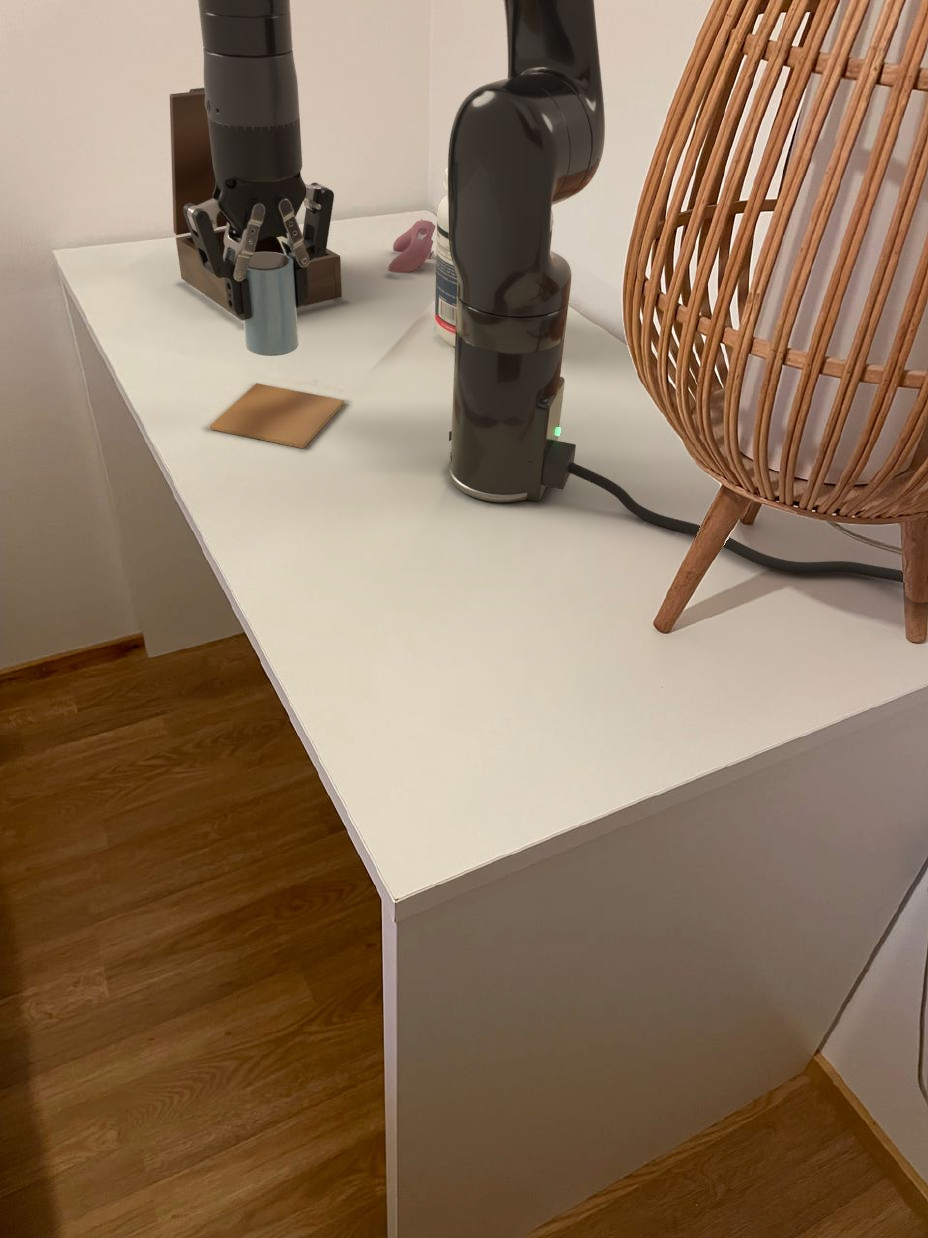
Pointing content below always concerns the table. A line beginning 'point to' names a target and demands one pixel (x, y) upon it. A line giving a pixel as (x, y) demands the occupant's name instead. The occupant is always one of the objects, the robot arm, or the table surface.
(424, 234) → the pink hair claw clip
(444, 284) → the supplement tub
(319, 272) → the open wooden box
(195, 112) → the lid
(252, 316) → the cup
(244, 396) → the mat
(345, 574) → the table surface
